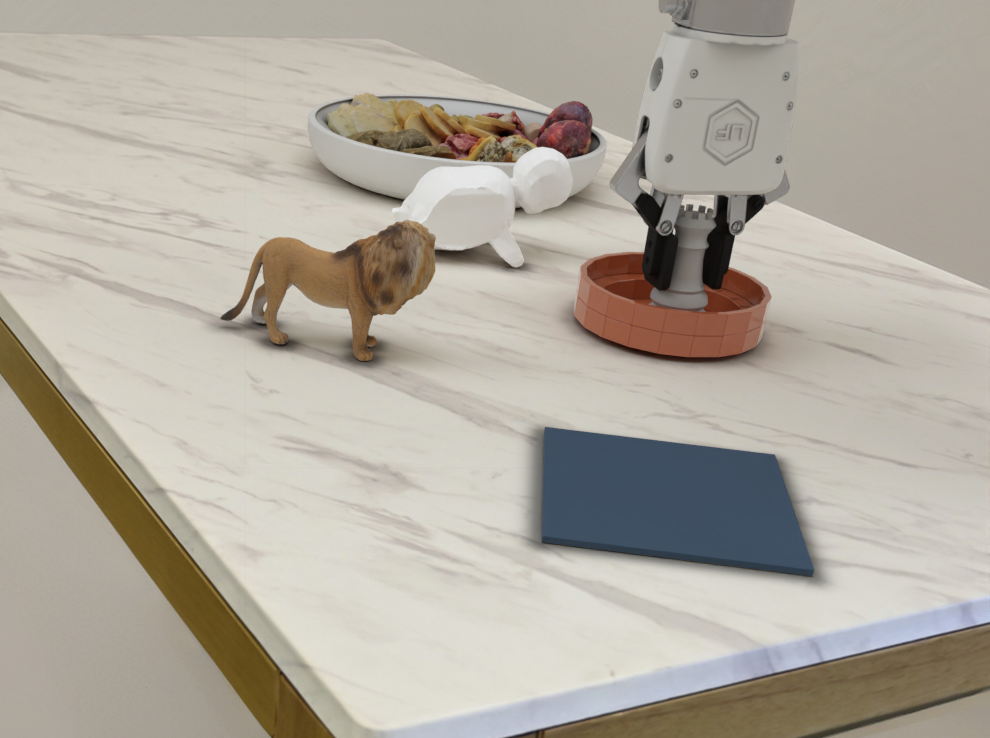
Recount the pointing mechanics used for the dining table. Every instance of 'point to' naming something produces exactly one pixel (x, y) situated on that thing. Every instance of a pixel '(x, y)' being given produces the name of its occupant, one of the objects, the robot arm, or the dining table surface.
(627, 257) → the terracotta bowl
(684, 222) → the rook chess piece
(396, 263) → the lion figurine
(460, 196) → the white animal figurine
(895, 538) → the dining table surface
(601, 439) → the dark blue square mat
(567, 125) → the bowl
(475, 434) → the dining table surface
